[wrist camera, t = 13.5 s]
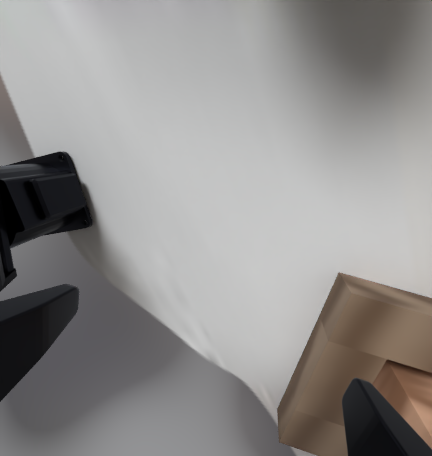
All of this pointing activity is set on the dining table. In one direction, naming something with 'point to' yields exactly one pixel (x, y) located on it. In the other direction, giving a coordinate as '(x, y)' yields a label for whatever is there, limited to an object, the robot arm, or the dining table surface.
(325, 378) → the walnut hole board
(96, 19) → the dining table surface
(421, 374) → the terracotta peg
